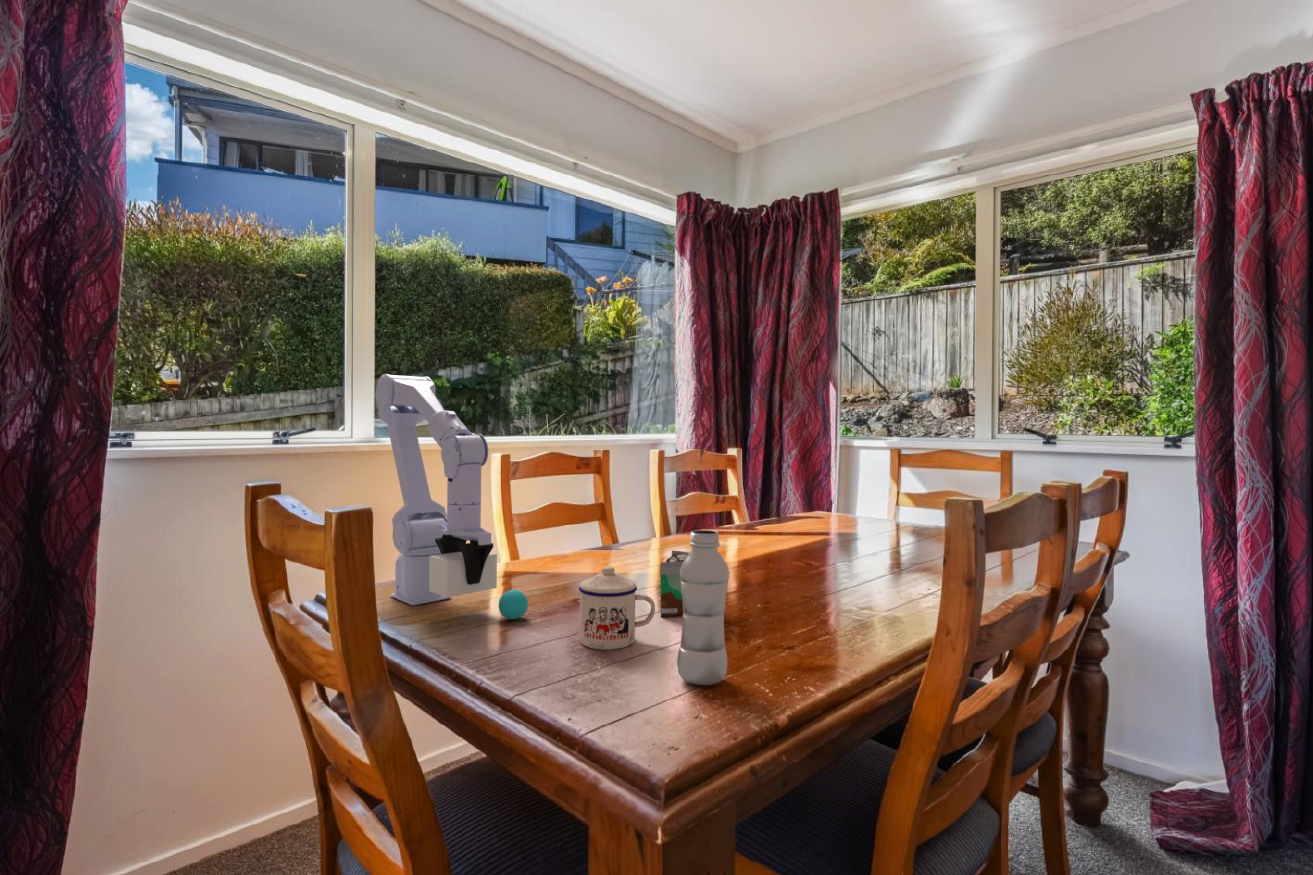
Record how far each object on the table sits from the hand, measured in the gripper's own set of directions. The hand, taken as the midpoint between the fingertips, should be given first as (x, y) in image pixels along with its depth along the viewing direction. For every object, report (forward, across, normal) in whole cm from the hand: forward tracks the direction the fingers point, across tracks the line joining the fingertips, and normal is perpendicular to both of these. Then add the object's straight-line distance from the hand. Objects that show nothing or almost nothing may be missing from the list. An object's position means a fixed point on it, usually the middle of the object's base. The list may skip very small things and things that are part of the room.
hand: (463, 579), depth 117 cm
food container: (+6, +25, +30) cm, 40 cm away
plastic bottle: (+6, +49, +7) cm, 50 cm away
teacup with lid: (+6, +29, +10) cm, 31 cm away
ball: (+4, +8, +5) cm, 10 cm away
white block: (+2, 0, 0) cm, 2 cm away
